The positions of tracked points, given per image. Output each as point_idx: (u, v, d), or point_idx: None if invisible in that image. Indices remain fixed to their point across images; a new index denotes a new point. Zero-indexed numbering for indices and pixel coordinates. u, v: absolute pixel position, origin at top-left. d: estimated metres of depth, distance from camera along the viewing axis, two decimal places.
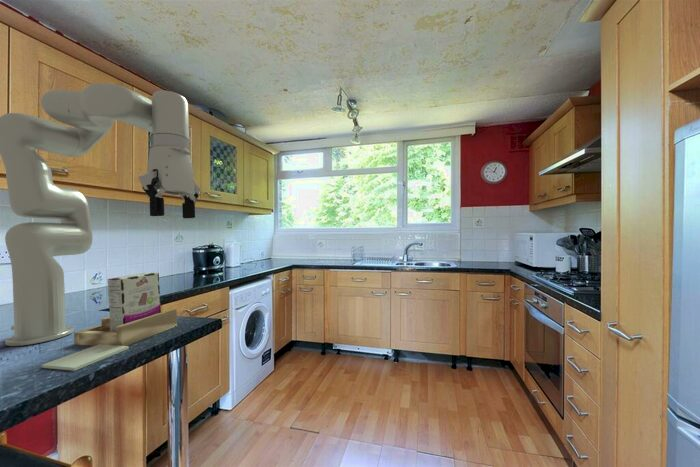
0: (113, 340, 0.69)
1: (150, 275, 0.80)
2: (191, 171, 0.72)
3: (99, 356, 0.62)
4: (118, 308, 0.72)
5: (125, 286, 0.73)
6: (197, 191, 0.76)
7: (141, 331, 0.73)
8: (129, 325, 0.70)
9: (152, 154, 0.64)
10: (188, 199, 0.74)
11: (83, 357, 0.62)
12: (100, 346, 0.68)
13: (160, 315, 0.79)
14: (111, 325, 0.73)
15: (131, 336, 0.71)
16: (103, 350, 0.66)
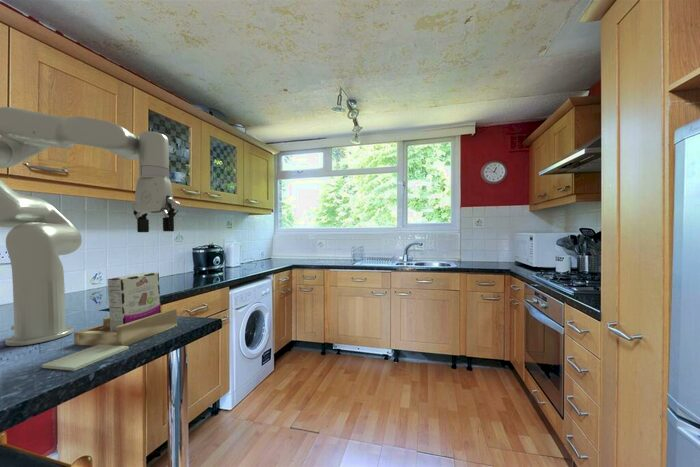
0: (113, 340, 0.69)
1: (150, 275, 0.80)
2: None
3: (99, 356, 0.62)
4: (118, 308, 0.72)
5: (125, 286, 0.73)
6: None
7: (141, 331, 0.73)
8: (129, 325, 0.70)
9: (164, 183, 0.83)
10: (142, 216, 0.87)
11: (83, 357, 0.62)
12: (100, 346, 0.68)
13: (160, 315, 0.79)
14: (111, 325, 0.73)
15: (131, 336, 0.71)
16: (103, 350, 0.66)
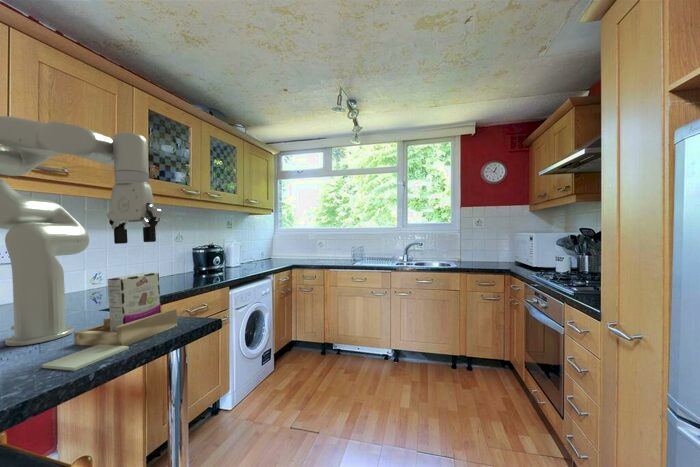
0: (113, 340, 0.69)
1: (150, 275, 0.80)
2: None
3: (99, 356, 0.62)
4: (118, 308, 0.72)
5: (125, 286, 0.73)
6: None
7: (141, 331, 0.73)
8: (129, 325, 0.70)
9: (144, 189, 0.76)
10: (120, 226, 0.79)
11: (83, 357, 0.62)
12: (100, 346, 0.68)
13: (160, 315, 0.79)
14: (111, 325, 0.73)
15: (131, 336, 0.71)
16: (103, 350, 0.66)
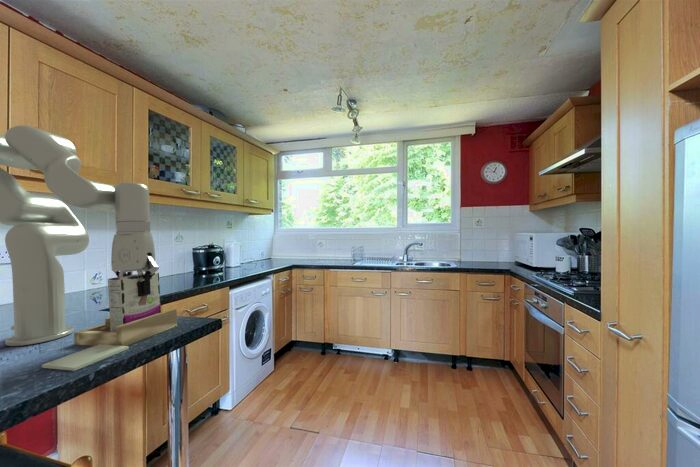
0: (113, 340, 0.69)
1: None
2: None
3: (99, 356, 0.62)
4: (118, 308, 0.72)
5: (125, 286, 0.73)
6: None
7: (141, 331, 0.73)
8: (129, 325, 0.70)
9: (145, 239, 0.76)
10: None
11: (83, 357, 0.62)
12: (100, 346, 0.68)
13: (160, 315, 0.79)
14: (111, 325, 0.73)
15: (131, 336, 0.71)
16: (103, 350, 0.66)
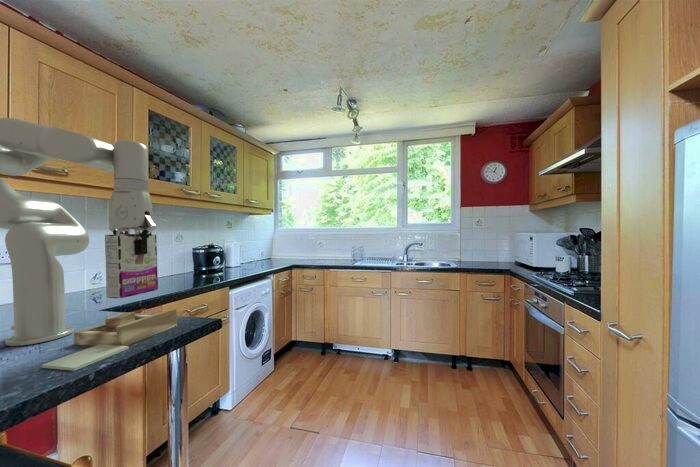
0: (113, 340, 0.69)
1: None
2: None
3: (99, 356, 0.62)
4: (115, 264, 0.72)
5: (122, 242, 0.73)
6: None
7: (141, 331, 0.73)
8: (129, 325, 0.70)
9: (143, 198, 0.76)
10: None
11: (83, 357, 0.62)
12: (100, 346, 0.68)
13: (160, 315, 0.79)
14: (107, 281, 0.73)
15: (131, 336, 0.71)
16: (103, 350, 0.66)
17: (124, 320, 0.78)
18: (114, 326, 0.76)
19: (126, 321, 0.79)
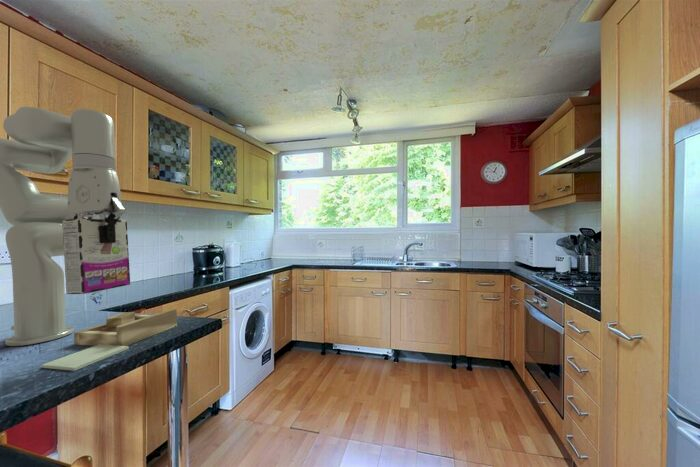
0: (113, 340, 0.69)
1: None
2: None
3: (99, 356, 0.62)
4: (75, 253, 0.61)
5: (84, 228, 0.62)
6: None
7: (141, 331, 0.73)
8: (129, 325, 0.70)
9: (108, 177, 0.65)
10: None
11: (83, 357, 0.62)
12: (100, 346, 0.68)
13: (160, 315, 0.79)
14: (66, 274, 0.61)
15: (131, 336, 0.71)
16: (103, 350, 0.66)
17: (125, 319, 0.78)
18: (115, 326, 0.76)
19: (127, 321, 0.79)
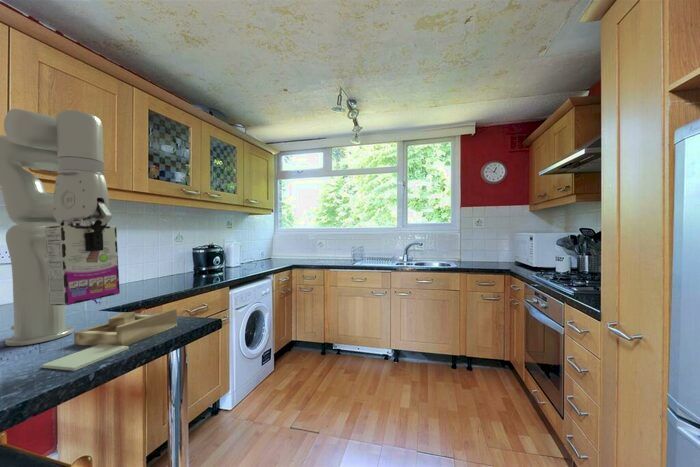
0: (113, 340, 0.69)
1: None
2: None
3: (99, 356, 0.62)
4: (58, 262, 0.58)
5: (68, 235, 0.58)
6: None
7: (141, 331, 0.73)
8: (129, 325, 0.70)
9: (94, 181, 0.62)
10: None
11: (83, 357, 0.62)
12: (100, 346, 0.68)
13: (160, 315, 0.79)
14: (49, 284, 0.58)
15: (131, 336, 0.71)
16: (103, 350, 0.66)
17: (127, 319, 0.78)
18: None
19: (129, 320, 0.79)
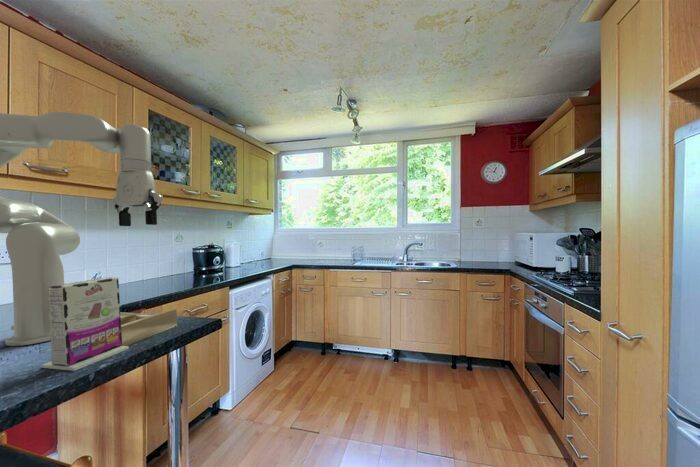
0: None
1: (106, 281, 0.65)
2: None
3: (99, 356, 0.62)
4: (60, 323, 0.58)
5: (69, 295, 0.58)
6: None
7: (141, 331, 0.73)
8: (129, 325, 0.70)
9: (146, 177, 0.84)
10: (124, 210, 0.86)
11: None
12: None
13: (160, 315, 0.79)
14: (52, 344, 0.58)
15: (131, 336, 0.71)
16: None
17: None
18: None
19: None
